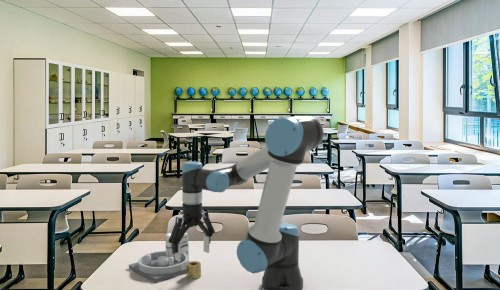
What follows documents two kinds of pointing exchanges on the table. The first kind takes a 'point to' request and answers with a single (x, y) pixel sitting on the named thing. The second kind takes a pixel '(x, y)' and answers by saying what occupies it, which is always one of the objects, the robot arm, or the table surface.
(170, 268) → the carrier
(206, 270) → the table surface
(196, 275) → the tan hollow cylinder
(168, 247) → the ink box
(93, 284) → the table surface
